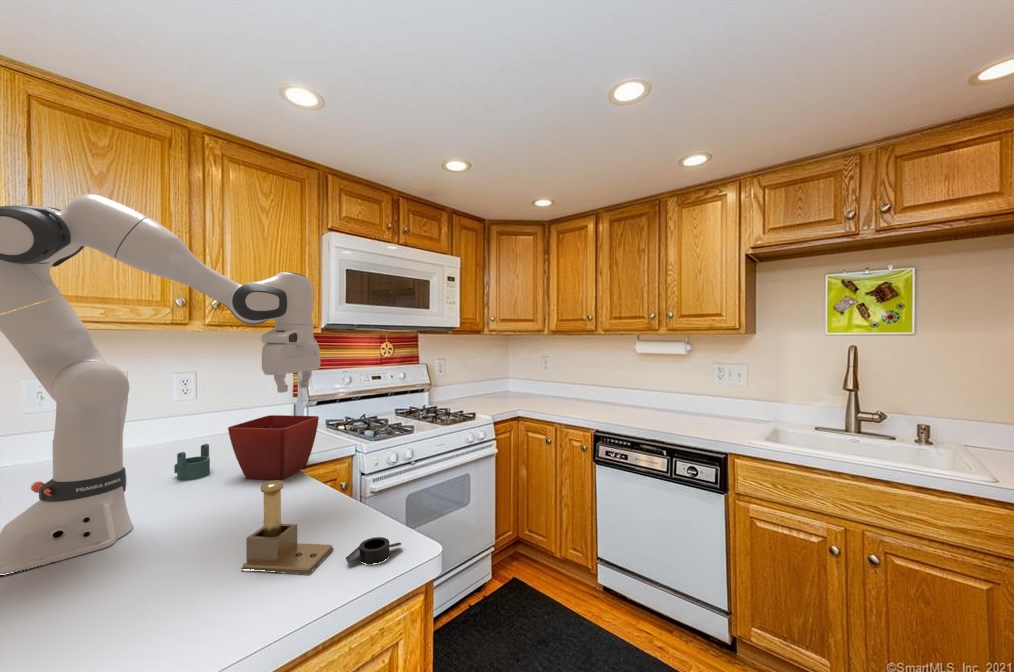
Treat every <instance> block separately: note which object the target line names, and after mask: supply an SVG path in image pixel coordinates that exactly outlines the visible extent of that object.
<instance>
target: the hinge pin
mask: <svg viewBox="0 0 1014 672" xmlns="http://www.w3.org/2000/svg"><path fill="white" fill-rule="evenodd" d="M284 486H285V485H284V481H283V480H282V479H281V480H275V479H273V480H269V481H266V482H262V483H261V484H260V492H261V493H263V526H264V537H278V536H279V535H280V534H281V524H282V490H283V489H284Z"/></svg>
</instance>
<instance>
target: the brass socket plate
mask: <svg viewBox="0 0 1014 672" xmlns="http://www.w3.org/2000/svg"><path fill="white" fill-rule="evenodd" d="M245 540H246V547H245V548H246V560H245V562H244V563H243V564H242V567H240V569H250V570H251V569H254V570H265V571H275V572H285V573H298V574H297V575H301V574H310V573H311V572H312V570H313V569H314V568H315V567H316V566H317V565H318V564H319V563H320V562H321V561H322V560H323V559H324V558H325V557H326V556H327V555H328V554H329V553H330V552H331V551H332V550H333V551H334V547H333V545H332V544H324V543H323V544H319V543H298V524H295V523H293V524H291V523H281V534H280V535H279V536H278V537H264V525H263V526H261V527H260V528H259V529H258V530H256V531H254V532H253V533H251V534H250V535H248V537H246V539H245ZM333 551H332V552H333ZM332 552H331V553H332ZM331 553H330V554H331ZM330 554H329V555H330ZM329 555H328V556H329ZM328 556H327V557H328ZM327 557H326V558H327ZM326 558H325V559H326ZM325 559H324V560H325ZM324 560H323V561H324ZM323 561H322V562H323ZM312 573H313V572H312ZM312 573H311V574H312ZM311 574H310V575H311Z"/></svg>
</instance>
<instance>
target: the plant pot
mask: <svg viewBox="0 0 1014 672" xmlns="http://www.w3.org/2000/svg"><path fill="white" fill-rule="evenodd" d="M319 419H320V417H319V416H317V415H280V414H278V415H277V414H276V415H275V414H270V415H265V416H261V417H259V418H255V419H252V420H247V421H244V422H240V423H238V424H234V425H231V426H228V427H227V431H228V435H229V439H230V442H231V447H232V450H233V452H234V455H235V459H236V461H237V462H238V463H237V464H238V465H239V467H240V469H241V471H242V473H243V475H244V477H245V479H250V480H251V479H256V480H259V479H260V480H281V481H282V480H284V479H286V478H288V477H289V476H291V475H293V474H295V473H298V472H299V471H301V470H303V469H305V468H306V467H307V465H308V462H309V460H310V456H311V453H312V452H313V451H312V450H313V447H314V443H315V439H316V435H317V431H318V426H319Z"/></svg>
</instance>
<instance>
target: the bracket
mask: <svg viewBox="0 0 1014 672" xmlns="http://www.w3.org/2000/svg"><path fill="white" fill-rule="evenodd" d="M176 458H177V459H176V464H174V474H176V478H177V481H180V482H181V481H183V482H185V481H186V482H187V481H195V480H200V479H203V478H206V477H208V476H209V475H210V474H211V457H210V444H208V443H204V444H201V445H200V456H199V455H198V456H191V457H187V453H186V452H185V451H180V452H178V453H177V454H176Z"/></svg>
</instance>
